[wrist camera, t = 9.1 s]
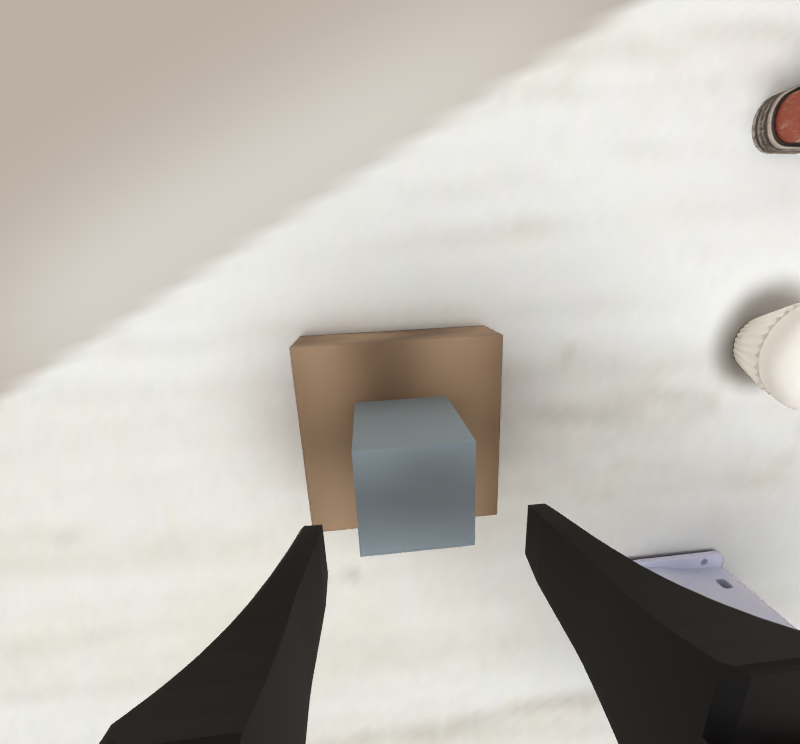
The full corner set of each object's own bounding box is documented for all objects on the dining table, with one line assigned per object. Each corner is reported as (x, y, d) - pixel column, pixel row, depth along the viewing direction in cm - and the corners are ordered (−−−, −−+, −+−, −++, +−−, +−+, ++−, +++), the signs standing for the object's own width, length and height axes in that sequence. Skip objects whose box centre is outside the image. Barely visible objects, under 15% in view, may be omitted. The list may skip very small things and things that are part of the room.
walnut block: (483, 325, 20) (502, 334, 18) (480, 483, 23) (496, 514, 20) (300, 336, 20) (289, 347, 17) (319, 498, 22) (313, 532, 20)
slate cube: (446, 396, 18) (476, 441, 13) (447, 476, 19) (474, 545, 15) (355, 402, 18) (351, 451, 13) (361, 484, 19) (360, 556, 14)
